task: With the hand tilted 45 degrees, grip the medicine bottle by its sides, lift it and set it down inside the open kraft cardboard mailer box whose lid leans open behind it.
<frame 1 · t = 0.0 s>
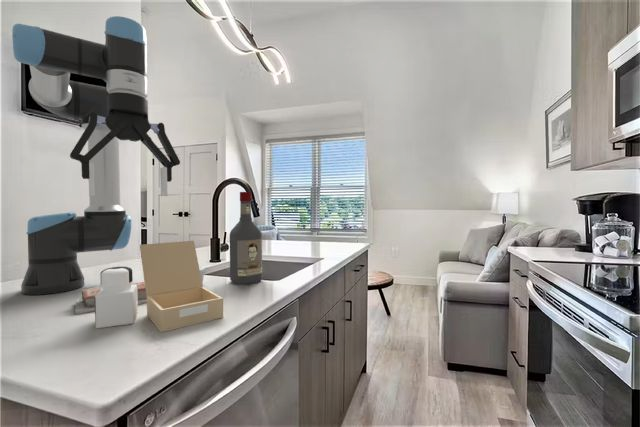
hand: (130, 196, 70), 28 cm above the worktop, tool pointing down, fingers open, 13 cm apart
liquor: (246, 281, 109), on the worktop
mailer: (184, 316, 76), on the worktop
packaged product: (117, 304, 86), on the worktop
medicine bottle: (118, 321, 73), on the worktop
ramekin: (186, 285, 104), on the worktop
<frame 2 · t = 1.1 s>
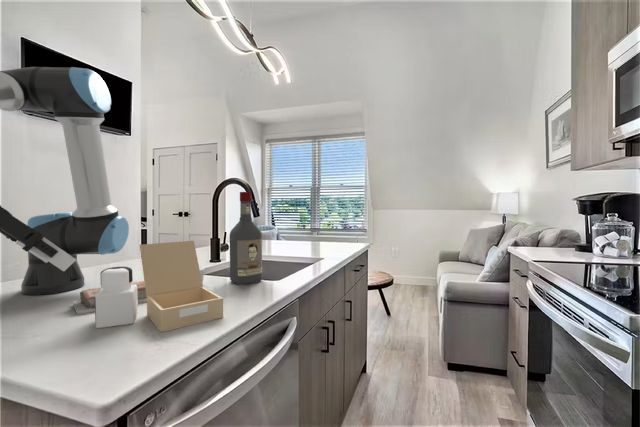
hand: (60, 261, 65), 15 cm above the worktop, tool tilted 45°, fingers open, 13 cm apart
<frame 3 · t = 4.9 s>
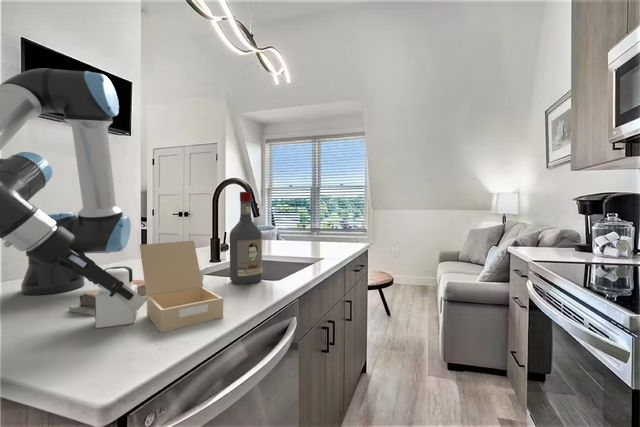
hand: (132, 300, 75), 4 cm above the worktop, tool tilted 45°, fingers closed on medicine bottle, 9 cm apart
medicine bottle: (118, 321, 73), on the worktop, touching gripper
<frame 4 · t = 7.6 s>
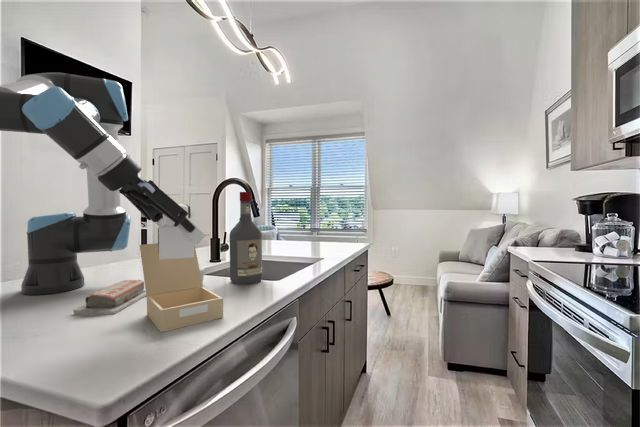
hand: (190, 238, 76), 18 cm above the worktop, tool tilted 45°, fingers closed on medicine bottle, 9 cm apart
medicine bottle: (176, 257, 74), point 14 cm above the worktop, touching gripper
when the fingers open (6 cm above the worktop, at t = 10.4 s): medicine bottle drops 2 cm, resting on mailer.
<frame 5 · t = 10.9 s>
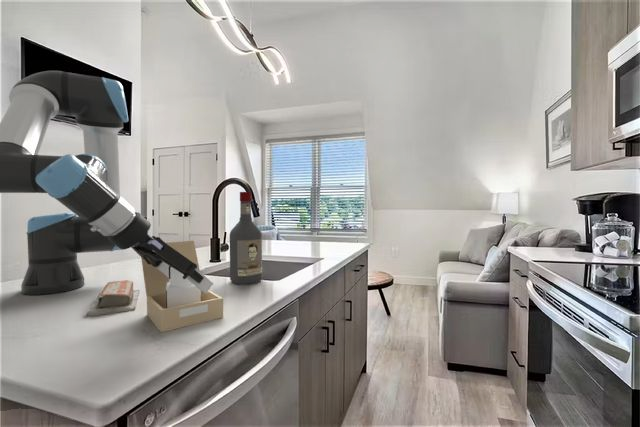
hand: (193, 283, 77), 7 cm above the worktop, tool tilted 45°, fingers open, 13 cm apart
medicine bottle: (183, 314, 76), resting on mailer
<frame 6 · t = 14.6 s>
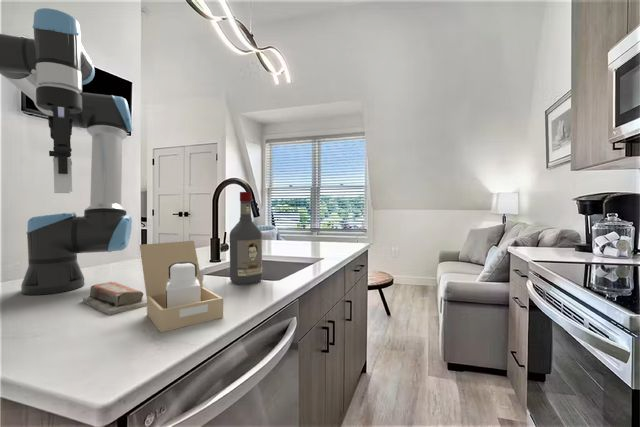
hand: (62, 192, 68), 29 cm above the worktop, tool pointing down, fingers open, 13 cm apart
at the end: medicine bottle inside the target area on the mailer (0.3 cm from its centre), point 0.3 cm above the mailer's base; medicine bottle tilted 0°; the gripper is holding nothing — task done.
